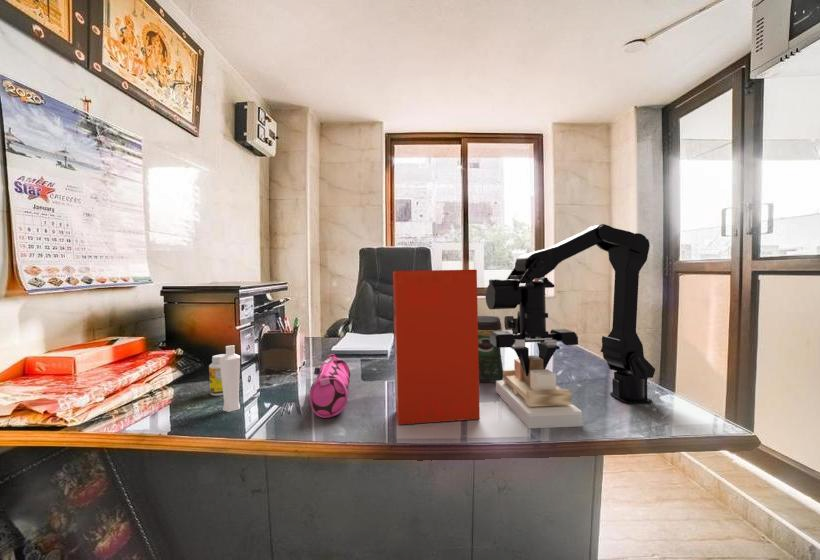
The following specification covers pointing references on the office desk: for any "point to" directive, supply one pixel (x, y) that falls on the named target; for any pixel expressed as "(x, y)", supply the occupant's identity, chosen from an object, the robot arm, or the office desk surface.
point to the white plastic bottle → (230, 379)
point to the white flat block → (539, 410)
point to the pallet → (536, 396)
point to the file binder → (436, 345)
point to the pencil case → (330, 387)
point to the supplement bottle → (215, 376)
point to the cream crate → (542, 380)
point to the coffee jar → (489, 350)
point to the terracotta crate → (518, 369)
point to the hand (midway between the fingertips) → (533, 375)
